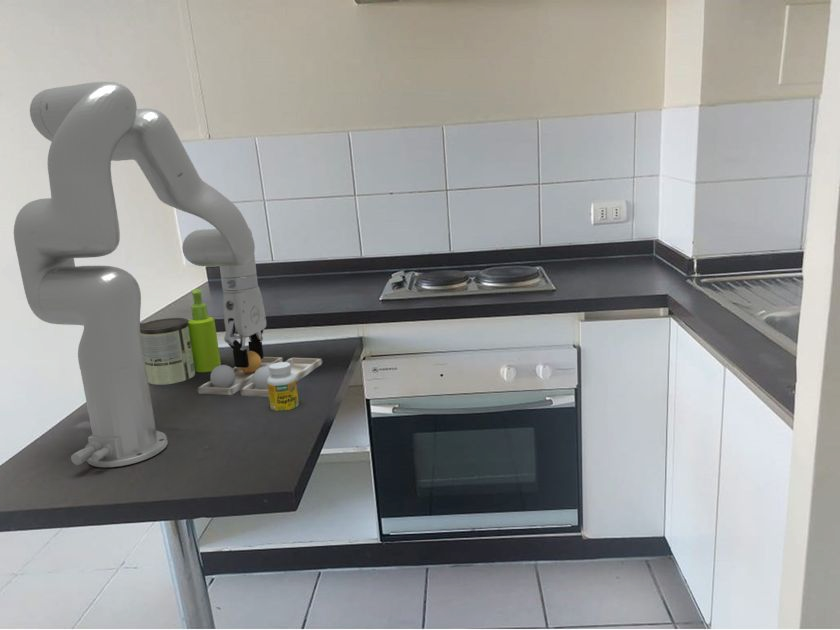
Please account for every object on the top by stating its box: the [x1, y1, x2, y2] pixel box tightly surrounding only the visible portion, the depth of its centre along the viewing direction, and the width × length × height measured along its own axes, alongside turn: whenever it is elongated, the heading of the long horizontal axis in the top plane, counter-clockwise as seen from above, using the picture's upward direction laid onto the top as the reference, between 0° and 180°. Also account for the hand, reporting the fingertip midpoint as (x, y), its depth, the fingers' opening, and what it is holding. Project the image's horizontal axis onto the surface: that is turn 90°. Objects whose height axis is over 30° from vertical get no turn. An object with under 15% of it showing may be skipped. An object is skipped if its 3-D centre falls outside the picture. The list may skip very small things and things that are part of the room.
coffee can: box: [140, 317, 196, 385], centre depth 138 cm, size 10×10×14 cm
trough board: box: [197, 356, 323, 398], centre depth 135 cm, size 24×19×3 cm
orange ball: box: [239, 350, 261, 373], centre depth 139 cm, size 5×5×5 cm
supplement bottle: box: [267, 361, 300, 412], centre depth 117 cm, size 5×5×10 cm
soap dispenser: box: [188, 288, 222, 373], centre depth 143 cm, size 6×7×20 cm
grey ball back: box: [210, 364, 235, 388], centre depth 129 cm, size 5×5×5 cm
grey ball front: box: [253, 366, 271, 390], centre depth 126 cm, size 5×5×5 cm
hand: (249, 361), depth 139 cm, fingers open, 5 cm apart
